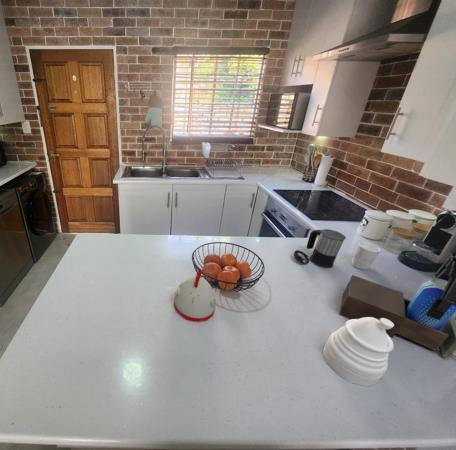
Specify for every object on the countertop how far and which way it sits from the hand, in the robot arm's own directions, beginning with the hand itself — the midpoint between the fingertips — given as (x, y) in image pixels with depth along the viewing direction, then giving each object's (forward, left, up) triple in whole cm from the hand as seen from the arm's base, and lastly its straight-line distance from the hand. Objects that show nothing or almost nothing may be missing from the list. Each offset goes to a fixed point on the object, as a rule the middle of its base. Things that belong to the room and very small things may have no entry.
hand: (430, 308), depth 74 cm
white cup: (+16, -35, -11) cm, 39 cm away
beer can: (0, 0, -8) cm, 8 cm away
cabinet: (+12, 0, -11) cm, 16 cm away
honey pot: (+15, +26, -11) cm, 32 cm away
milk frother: (+33, -23, -11) cm, 41 cm away
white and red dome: (+59, +37, -11) cm, 70 cm away
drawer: (-3, 0, -10) cm, 10 cm away
